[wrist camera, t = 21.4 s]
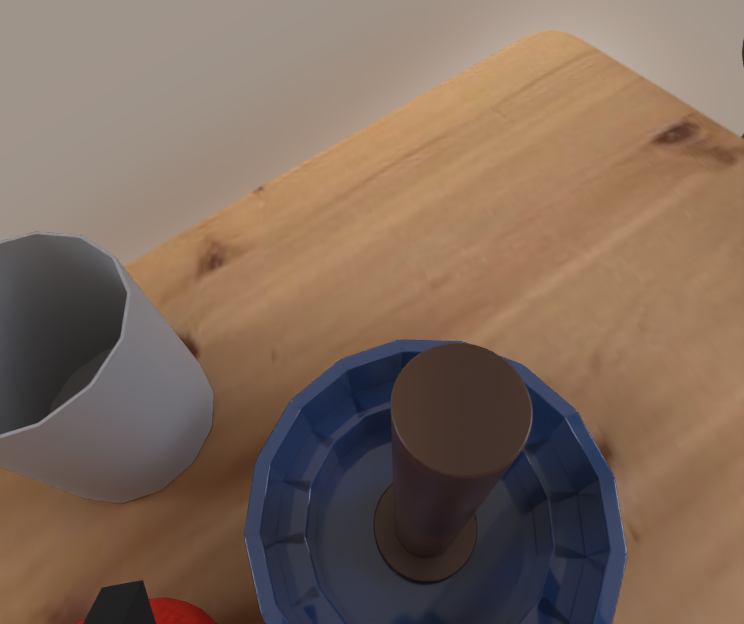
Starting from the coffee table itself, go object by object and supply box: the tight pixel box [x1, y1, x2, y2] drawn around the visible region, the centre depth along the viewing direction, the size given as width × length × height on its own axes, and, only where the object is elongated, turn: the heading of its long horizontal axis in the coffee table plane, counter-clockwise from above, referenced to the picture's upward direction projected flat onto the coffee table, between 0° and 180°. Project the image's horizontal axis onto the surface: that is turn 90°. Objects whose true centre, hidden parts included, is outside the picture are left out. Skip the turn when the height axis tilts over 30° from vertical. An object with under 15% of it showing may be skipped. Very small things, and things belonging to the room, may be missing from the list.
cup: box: [0, 231, 214, 504], centre depth 23 cm, size 8×8×10 cm
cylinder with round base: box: [373, 343, 533, 584], centre depth 17 cm, size 4×4×16 cm
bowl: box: [244, 340, 627, 624], centre depth 22 cm, size 13×13×6 cm
